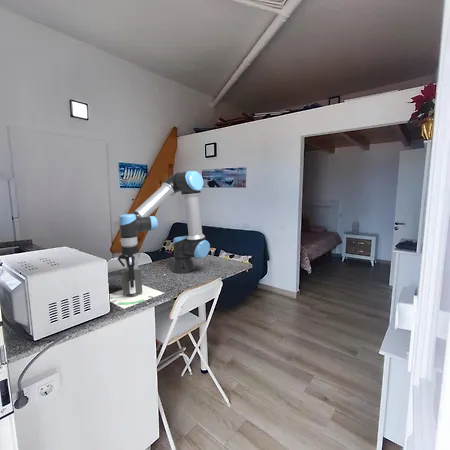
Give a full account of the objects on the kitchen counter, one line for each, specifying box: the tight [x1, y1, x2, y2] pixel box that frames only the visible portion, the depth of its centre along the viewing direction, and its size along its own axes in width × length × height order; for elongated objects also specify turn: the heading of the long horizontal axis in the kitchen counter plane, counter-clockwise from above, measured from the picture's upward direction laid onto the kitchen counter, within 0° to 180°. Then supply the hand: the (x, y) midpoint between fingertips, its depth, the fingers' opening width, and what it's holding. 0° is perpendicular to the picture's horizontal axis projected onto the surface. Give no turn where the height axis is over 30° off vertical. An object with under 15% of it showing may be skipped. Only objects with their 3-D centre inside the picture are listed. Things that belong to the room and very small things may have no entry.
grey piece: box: [113, 267, 143, 298], centre depth 126 cm, size 14×6×13 cm, turn 111°
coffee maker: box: [117, 252, 142, 270], centre depth 160 cm, size 15×9×18 cm, turn 131°
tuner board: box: [109, 284, 164, 310], centre depth 127 cm, size 22×22×2 cm
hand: (132, 290), depth 127 cm, fingers open, 6 cm apart
